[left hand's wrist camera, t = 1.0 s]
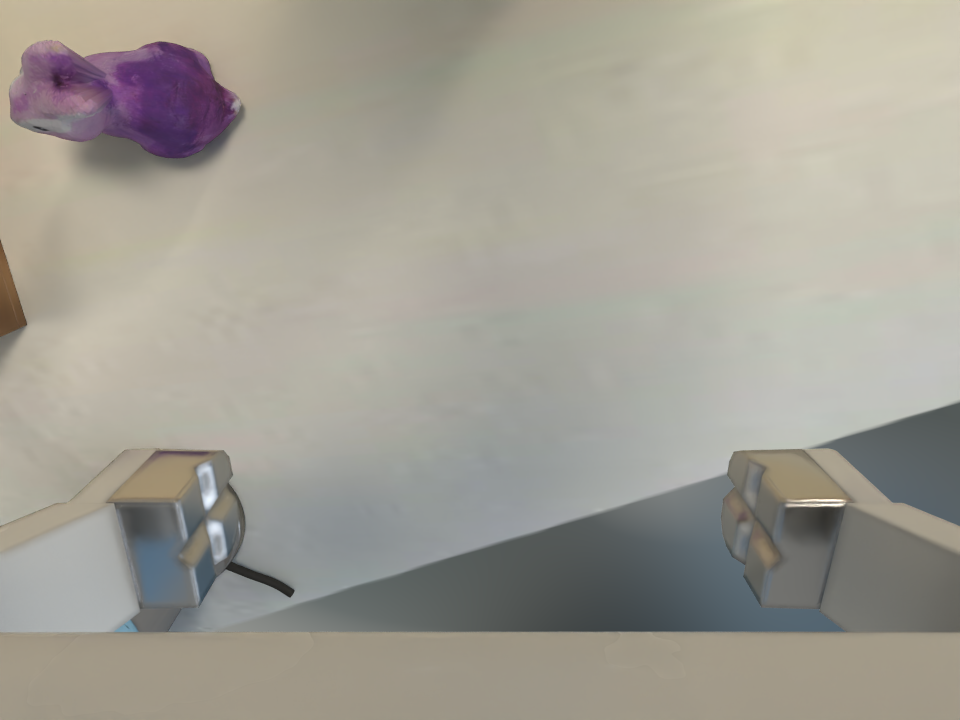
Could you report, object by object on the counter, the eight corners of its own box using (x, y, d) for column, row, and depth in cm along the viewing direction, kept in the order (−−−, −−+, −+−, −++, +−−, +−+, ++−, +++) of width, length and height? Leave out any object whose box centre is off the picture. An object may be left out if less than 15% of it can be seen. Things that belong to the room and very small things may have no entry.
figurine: (83, 106, 51) (-69, 101, 37) (159, 7, 48) (28, -39, 34) (178, 194, 53) (70, 221, 39) (256, 104, 51) (170, 98, 37)
